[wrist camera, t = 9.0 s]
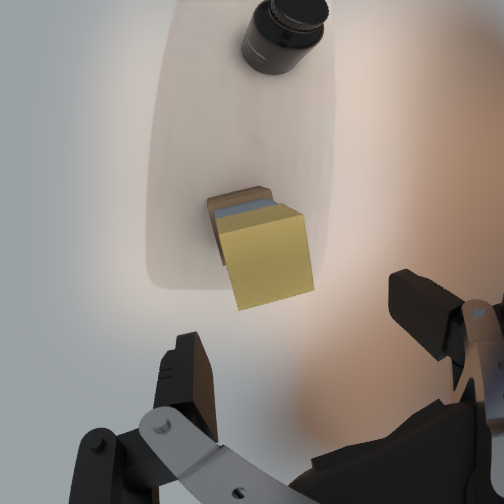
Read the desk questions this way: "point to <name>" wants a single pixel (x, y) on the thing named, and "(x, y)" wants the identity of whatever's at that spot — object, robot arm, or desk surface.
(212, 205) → the tower base
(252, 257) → the top block
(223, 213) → the tower mid
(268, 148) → the desk surface
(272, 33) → the supplement bottle
